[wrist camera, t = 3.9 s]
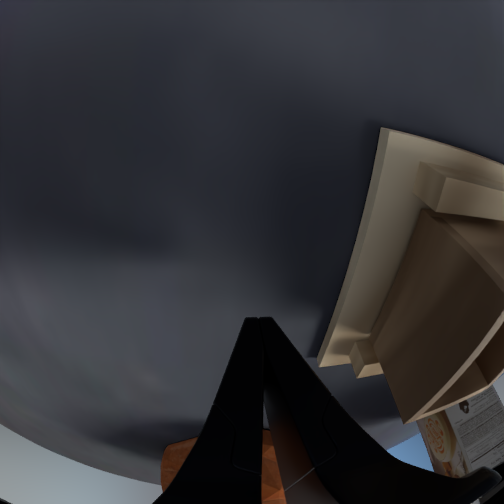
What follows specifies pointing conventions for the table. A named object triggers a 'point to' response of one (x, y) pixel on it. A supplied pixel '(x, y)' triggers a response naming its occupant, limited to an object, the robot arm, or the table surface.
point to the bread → (270, 475)
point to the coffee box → (465, 435)
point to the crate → (444, 315)
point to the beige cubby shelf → (402, 231)
